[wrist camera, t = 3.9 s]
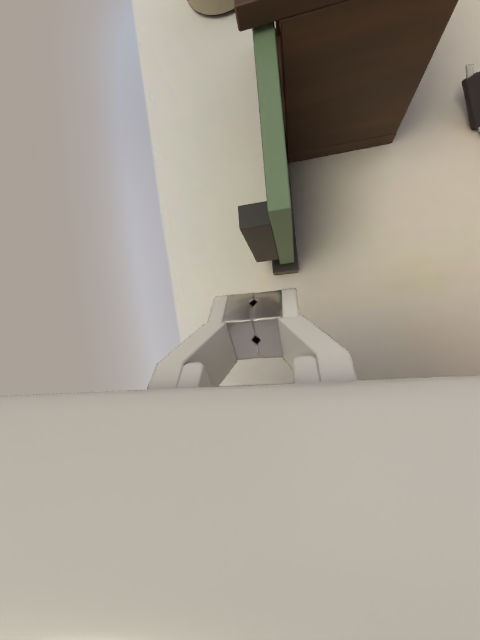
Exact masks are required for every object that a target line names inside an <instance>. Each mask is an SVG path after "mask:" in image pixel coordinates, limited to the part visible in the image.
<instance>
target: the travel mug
mask: <svg viewBox="0 0 480 640" xmlns="http://www.w3.org/2000/svg"><path fill="white" fill-rule="evenodd" d="M187 1H188V3H189V4H190V6H191V7H192V8H193V9H195V10H196V11H198V12H200V13H202V14H207V15H217V14H222V13H225V12H228V11H230V10H232V9H234V0H187Z"/></svg>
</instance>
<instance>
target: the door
mask: <svg viewBox="0 0 480 640" xmlns="http://www.w3.org/2000/svg"><path fill="white" fill-rule="evenodd" d="M252 30H253V41H254V53H255V65H256V77H257V89H258V101H259V113H260V124H261V136H262V148H263V160H264V172H265V184H266V196H267V201H266V202H260V203H254V204H248V205H242V206H238V212H239V226H240V230H241V232H242V234H243V236H244V238H245V240H246V242H247V244H248V246H249V248H250V249H251V251H252V253H253V255H254V257H255V259H256V261H257V262H263V261H270V260H278V259H279V261H280V264H287V263H294V249H293V230H292V210H291V198H290V187H289V176H288V166H287V155H286V144H285V133H284V122H283V111H282V101H281V90H280V79H279V68H278V57H277V47H276V36H275V25H274V22H271V23H267V24H264V25H261V26H257V27H254V28H252Z"/></svg>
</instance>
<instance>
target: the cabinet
mask: <svg viewBox="0 0 480 640" xmlns="http://www.w3.org/2000/svg"><path fill="white" fill-rule="evenodd" d="M457 2H458V0H234V8H235V13H236V19H237V24H238V29H239V31H244V30H247V29H251V28H254V27H257V26H261V25H264V24H267V23H271V22H274V21H275V22H276V28H275V36H276V47H277V57H278V68H279V79H280V90H281V101H282V111H283V122H284V133H285V144H286V155H287V166H288V176H289V187H290V198H291V210H292V230H293V249H294V263H287V264H280V261H279V259H278V260H272V265H273V273H274V275H280V274H289V273H297V272H298V261H297V250H296V239H295V228H294V218H293V207H292V196H291V185H290V175H289V164H288V163H291V162H296V161H301V160H306V159H311V158H316V157H322V156H327V155H332V154H337V153H342V152H347V151H352V150H357V149H362V148H368V147H373V146H378V145H383V144H388V143H392V141H393V139H394V137H395V135H396V132H397V130H398V128H399V126H400V124H401V122H402V120H403V117H404V115H405V113H406V111H407V109H408V107H409V105H410V102H411V100H412V98H413V96H414V94H415V92H416V90H417V88H418V85H419V83H420V81H421V79H422V77H423V75H424V73H425V70H426V68H427V66H428V64H429V62H430V60H431V58H432V56H433V53H434V51H435V49H436V47H437V45H438V43H439V41H440V38H441V36H442V34H443V32H444V30H445V28H446V26H447V23H448V21H449V19H450V17H451V15H452V13H453V11H454V9H455V6H456V4H457Z"/></svg>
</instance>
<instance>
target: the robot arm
mask: <svg viewBox="0 0 480 640" xmlns="http://www.w3.org/2000/svg"><path fill="white" fill-rule="evenodd" d="M272 357H283V358H284V359H285V361H286V362H287V363H288V365H289V366H290V367H291V368H292V370H293V373H294V383H286V384H263V385H241V386H219V385H220V383H221V382H222V381H223V380H224V378H225V377H226V376H227V374H228V373H229V372H230V370H231V369H232V368H233V366H234V365H235V364H236V362H237V360H242V359H253V358H272ZM218 386H219V387H218ZM0 640H480V375H468V376H445V377H423V378H401V379H380V380H357V376H356V372H355V369H354V365H353V362H352V358H351V355H350V352H349V351H348V350H346V349H345V348H344V347H343V346H341V345H340V344H339V343H338V342H336V341H335V340H334V339H332V338H331V337H330V336H329V335H327V334H326V333H325V332H324V331H322V330H321V329H320V328H318V327H317V326H316V325H315V324H313V323H312V322H311V321H310V320H308V319H307V318H306V317H304V316H299V308H298V299H297V290H296V288H291V289H283V290H278V291H270V292H261V293H248V294H237V295H229V296H228V295H225V296H216V297H215V298H214V300H213V304H212V308H211V311H210V315H209V319H208V322H207V324H204V325H202V326H201V327H200V328H199V329H198V330H196V331H195V332H194V333H193V334H192V335H190V336H189V337H188V338H187V339H186V340H185V341H183V342H182V343H181V344H180V345H179V346H178V347H176V348H175V349H174V350H173V351H172V352H170V353H169V354H168V355H167V356H166V357H165V358H163V359H162V360H161V361H160V362H159V363H157V365H156V368H155V371H154V373H153V375H152V378H151V380H150V382H149V385H148V387H147V390H129V391H107V392H106V391H105V392H83V393H63V394H62V393H60V394H39V395H38V394H37V395H15V396H0Z"/></svg>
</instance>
